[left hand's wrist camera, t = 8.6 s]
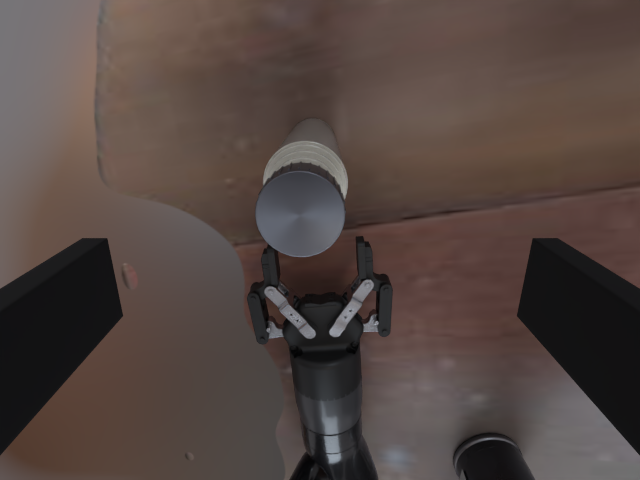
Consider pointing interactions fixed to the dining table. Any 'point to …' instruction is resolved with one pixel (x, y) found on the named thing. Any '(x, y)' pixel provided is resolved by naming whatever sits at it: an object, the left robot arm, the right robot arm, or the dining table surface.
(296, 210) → the cap
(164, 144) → the dining table surface
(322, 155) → the bottle
